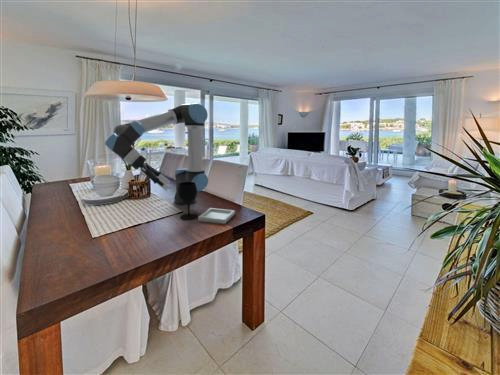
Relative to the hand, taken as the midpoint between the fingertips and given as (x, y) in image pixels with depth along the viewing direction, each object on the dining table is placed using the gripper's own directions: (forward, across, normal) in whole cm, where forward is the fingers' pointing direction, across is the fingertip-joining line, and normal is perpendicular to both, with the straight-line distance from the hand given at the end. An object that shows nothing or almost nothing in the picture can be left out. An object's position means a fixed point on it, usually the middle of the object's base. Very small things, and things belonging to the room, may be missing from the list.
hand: (168, 186), depth 136 cm
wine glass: (+21, 0, -6) cm, 22 cm away
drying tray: (+32, +6, +5) cm, 33 cm away
